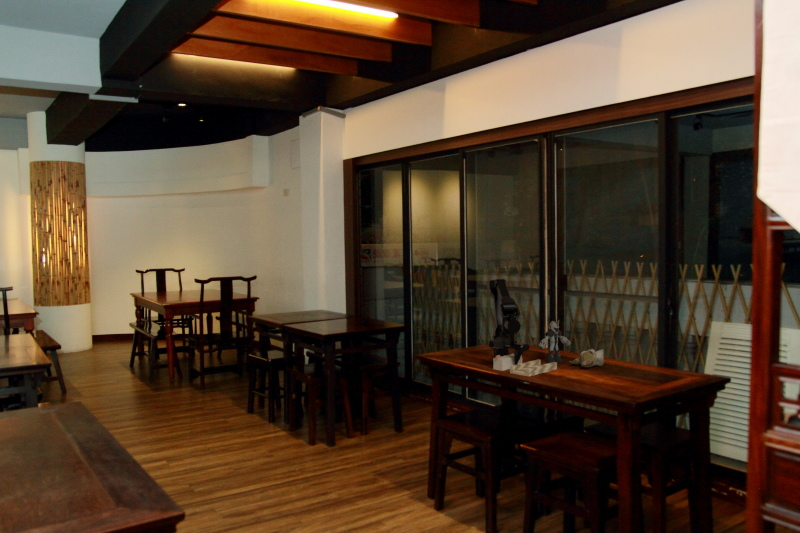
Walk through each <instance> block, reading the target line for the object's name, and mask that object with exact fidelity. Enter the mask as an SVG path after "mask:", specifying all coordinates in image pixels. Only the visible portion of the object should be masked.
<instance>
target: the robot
mask: <svg viewBox="0 0 800 533" xmlns="http://www.w3.org/2000/svg"><path fill="white" fill-rule="evenodd" d="M559 324H560V318H558V320H557V321H556V320H554V319H552V320H551V321H550V323H549V324H548V329H549V330H546V332H545V333H544V335H545V338H542V339H541V340H540V342H539V344H538V346H537V348H538V350H541V351H543V350H544V349H545V348H546V347H547V345H548V343H549V345H550V346H549V347H548V353H547V358H546V364H548V363H552V362H557V363H563V358H562V357H561V353H560V346H559V345H558V344H559V340H560V342H561V344H563V345H564V346H566V347H570V346H571V344H572V343H571V341H570V340H569V339H568V338H567V337H566V336H563V335H562V334H563V332H562V330H560V329H559V328H560V326H559ZM558 339H559V340H558ZM548 340H549V342H548Z"/></svg>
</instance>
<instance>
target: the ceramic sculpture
mask: <svg viewBox="0 0 800 533" xmlns="http://www.w3.org/2000/svg"><path fill="white" fill-rule="evenodd" d="M604 353H605V352H604V349H603V348H602V349H598V350H595V349H594V348H591V347H588V348H587V350H583V351H581V352H580V354H579V356H578V357H577V358H575V359H573V360H569V361H568V362H569V364H570V363H571V364H572V365H576V366H577V365H579V366H581V367H584V368H592V367H594V366H597V367H602V366H603V365H604V362H605V360H604V358H605V357H604V356H605V355H604Z"/></svg>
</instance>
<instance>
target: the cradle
mask: <svg viewBox="0 0 800 533" xmlns="http://www.w3.org/2000/svg"><path fill="white" fill-rule="evenodd" d="M541 363H542V362H541V359H535V360H530V361H525V362H522V363H521V364H517V365H512V366H510V369H509V373H510V374H513V375H520V376H525V377H532V376H533V377H534V376H536V375H540V374H543V373H549V372H552V371H555V370H557V369H558V365H557V364H558V362H552V363H543V364H541Z"/></svg>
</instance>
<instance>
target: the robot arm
mask: <svg viewBox="0 0 800 533" xmlns="http://www.w3.org/2000/svg"><path fill="white" fill-rule="evenodd" d="M486 287H487V290H488V294H489V296H490V297H491V298H492V304H493V313H494V323H495V329H494V331H493V333H492V337H491V340H489V342H488V347H489V348H490V347H491V348H492V350H493V358H496V356H497V355H500V357H501V356H506V355H510V350H509V349H514V350H512V354H514V364H515V365H517V364H518V362H519V359H520V357H521V355H522V356H523V353H525V352H526V351H529V350H530V344H529V343H525V342H519V343H518V341H517V340H516V335H517V334H518V332H519V331H520V330H521V323H520V321H519V320H517V318H520V315H521V313H520V308H519V305H518V303H516V300H515V299H514V298H512V297H511V295H510V292H509V290H508V286H507V280H506V279H505V278H495V279H490V280H489V281H487V283H486ZM493 358H492V359H491V361H493Z"/></svg>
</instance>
